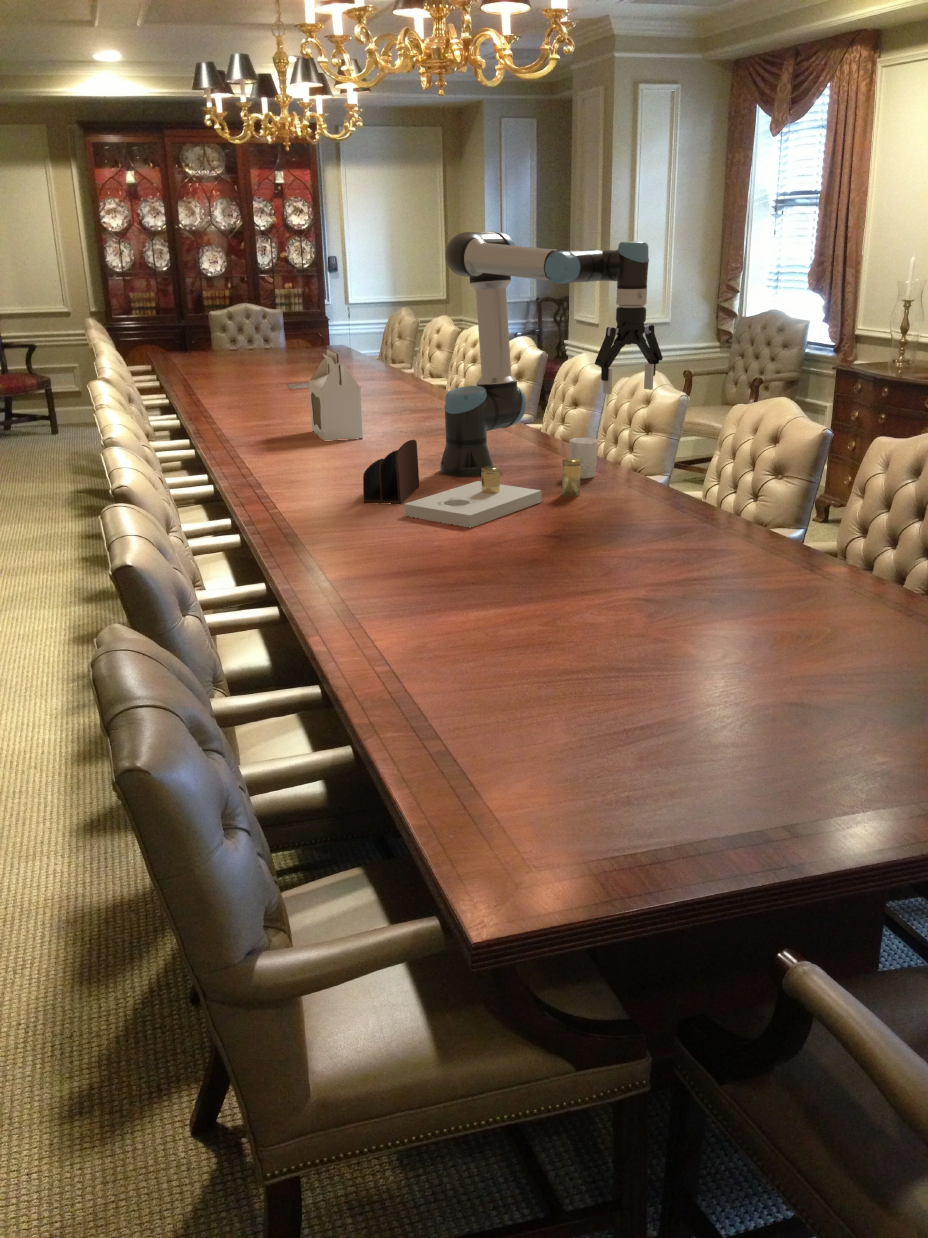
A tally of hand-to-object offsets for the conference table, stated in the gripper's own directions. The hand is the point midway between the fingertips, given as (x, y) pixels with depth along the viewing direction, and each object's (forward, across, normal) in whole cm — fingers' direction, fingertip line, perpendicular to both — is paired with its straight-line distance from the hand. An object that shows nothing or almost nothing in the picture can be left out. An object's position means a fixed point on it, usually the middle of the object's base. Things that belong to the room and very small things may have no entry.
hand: (627, 391), depth 275 cm
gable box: (+26, -32, +116) cm, 123 cm away
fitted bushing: (+25, -40, +4) cm, 47 cm away
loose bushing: (+25, -18, 0) cm, 31 cm away
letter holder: (+26, -56, +26) cm, 67 cm away
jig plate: (+25, -46, +1) cm, 53 cm away
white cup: (+25, -1, +16) cm, 30 cm away
